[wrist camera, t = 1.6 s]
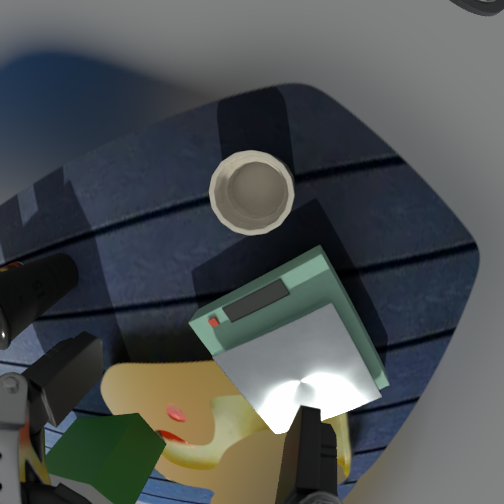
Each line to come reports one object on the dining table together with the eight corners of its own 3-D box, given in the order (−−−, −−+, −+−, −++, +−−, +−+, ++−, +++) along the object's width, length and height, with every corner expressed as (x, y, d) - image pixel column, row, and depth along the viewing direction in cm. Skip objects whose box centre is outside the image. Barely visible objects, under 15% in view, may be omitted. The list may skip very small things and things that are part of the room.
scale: (320, 244, 27) (321, 254, 24) (384, 368, 30) (390, 386, 26) (198, 309, 31) (186, 324, 28) (275, 411, 34) (272, 430, 31)
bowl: (271, 139, 25) (263, 134, 21) (309, 200, 26) (309, 208, 22) (213, 177, 27) (194, 180, 22) (249, 234, 28) (237, 249, 23)
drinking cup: (65, 306, 35) (-41, 384, 16) (38, 257, 34) (-77, 316, 15) (96, 286, 33) (-30, 376, 14) (66, 231, 32) (-72, 291, 13)
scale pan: (331, 298, 24) (331, 302, 24) (380, 391, 26) (382, 396, 25) (214, 352, 28) (211, 357, 27) (277, 429, 30) (276, 434, 29)
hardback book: (101, 445, 45) (42, 529, 22) (77, 417, 43) (8, 501, 21) (166, 444, 40) (103, 561, 17) (138, 412, 39) (58, 532, 16)
